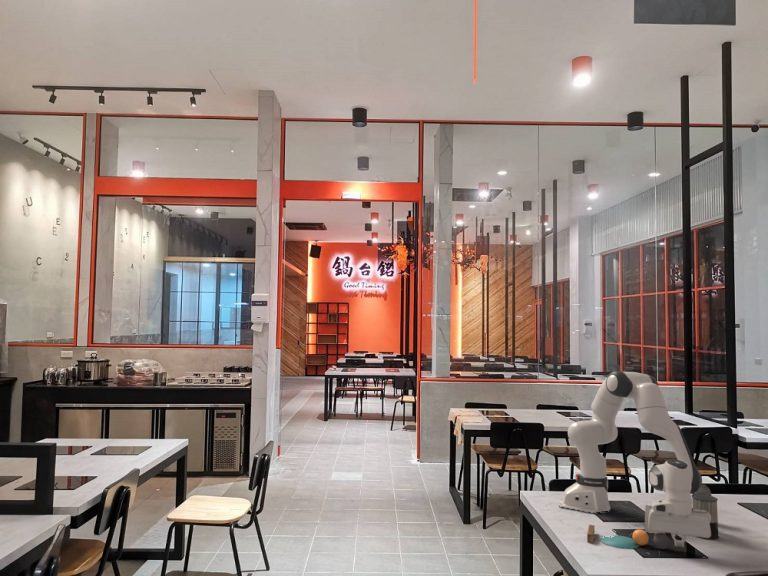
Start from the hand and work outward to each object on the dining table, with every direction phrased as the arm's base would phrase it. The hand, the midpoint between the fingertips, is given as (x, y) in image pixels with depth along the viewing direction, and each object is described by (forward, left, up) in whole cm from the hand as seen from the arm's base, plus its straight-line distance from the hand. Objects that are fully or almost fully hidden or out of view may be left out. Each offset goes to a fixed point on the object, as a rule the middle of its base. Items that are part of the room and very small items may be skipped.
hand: (679, 546), depth 204 cm
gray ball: (-6, -1, +1) cm, 6 cm away
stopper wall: (-30, 0, -2) cm, 30 cm away
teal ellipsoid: (-20, 0, -2) cm, 20 cm away
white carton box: (-7, +18, -2) cm, 19 cm away
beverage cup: (+12, +42, -2) cm, 44 cm away
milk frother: (+8, +25, -2) cm, 26 cm away
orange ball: (-13, 0, +1) cm, 13 cm away
